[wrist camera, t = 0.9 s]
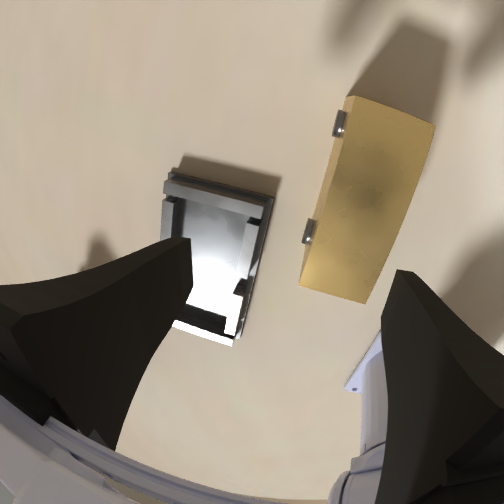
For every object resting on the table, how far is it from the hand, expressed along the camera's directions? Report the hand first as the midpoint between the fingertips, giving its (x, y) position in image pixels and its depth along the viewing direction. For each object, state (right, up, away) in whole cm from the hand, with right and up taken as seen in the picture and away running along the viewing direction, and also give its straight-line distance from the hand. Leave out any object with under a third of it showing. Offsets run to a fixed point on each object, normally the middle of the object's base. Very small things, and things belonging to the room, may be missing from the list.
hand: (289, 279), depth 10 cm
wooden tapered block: (+5, +5, +7) cm, 10 cm away
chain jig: (-4, 0, +12) cm, 13 cm away
